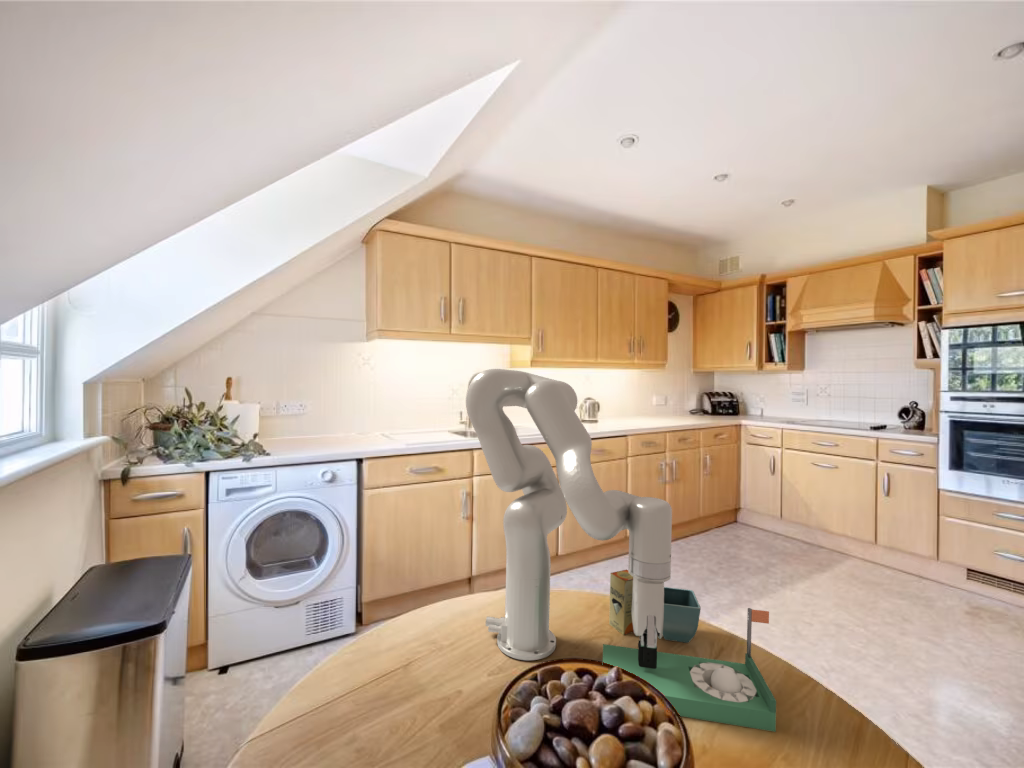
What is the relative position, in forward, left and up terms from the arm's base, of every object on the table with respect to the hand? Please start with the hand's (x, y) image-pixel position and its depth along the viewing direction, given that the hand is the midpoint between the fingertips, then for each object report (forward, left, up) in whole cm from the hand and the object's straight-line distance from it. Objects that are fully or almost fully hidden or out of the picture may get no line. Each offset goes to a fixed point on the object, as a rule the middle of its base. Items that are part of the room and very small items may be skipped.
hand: (647, 664), depth 82 cm
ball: (+14, 0, -1) cm, 14 cm away
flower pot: (+8, +19, -4) cm, 21 cm away
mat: (+6, 0, -4) cm, 7 cm away
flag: (+20, +6, -4) cm, 22 cm away
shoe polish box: (-3, +20, -4) cm, 21 cm away
